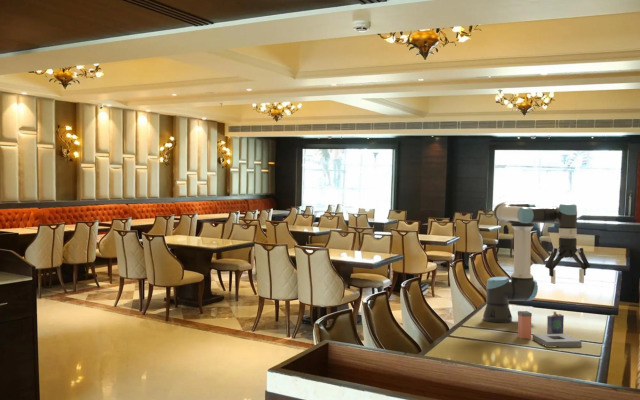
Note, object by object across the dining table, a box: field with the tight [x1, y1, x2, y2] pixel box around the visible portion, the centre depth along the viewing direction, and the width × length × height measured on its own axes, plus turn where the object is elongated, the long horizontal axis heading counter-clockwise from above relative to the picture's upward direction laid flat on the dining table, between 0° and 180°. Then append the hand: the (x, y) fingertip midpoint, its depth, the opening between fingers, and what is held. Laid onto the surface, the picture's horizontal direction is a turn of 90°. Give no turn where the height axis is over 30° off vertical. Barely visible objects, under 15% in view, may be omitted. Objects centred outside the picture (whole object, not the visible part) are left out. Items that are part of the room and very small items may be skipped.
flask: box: [546, 311, 565, 334], centre depth 274 cm, size 9×3×11 cm, turn 109°
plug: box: [517, 310, 533, 339], centre depth 266 cm, size 5×5×12 cm
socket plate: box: [532, 333, 583, 348], centre depth 256 cm, size 14×16×2 cm
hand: (567, 283), depth 257 cm, fingers open, 13 cm apart
